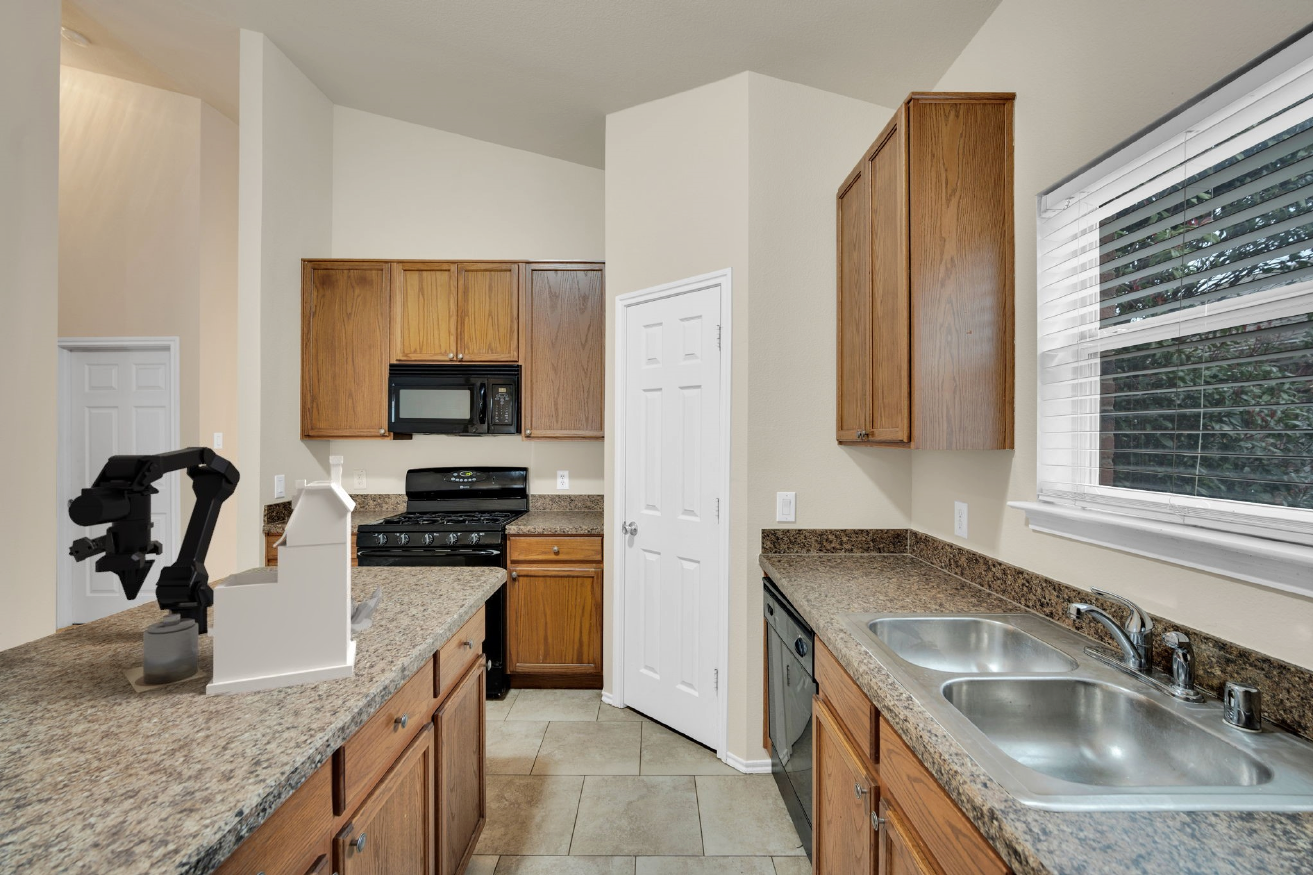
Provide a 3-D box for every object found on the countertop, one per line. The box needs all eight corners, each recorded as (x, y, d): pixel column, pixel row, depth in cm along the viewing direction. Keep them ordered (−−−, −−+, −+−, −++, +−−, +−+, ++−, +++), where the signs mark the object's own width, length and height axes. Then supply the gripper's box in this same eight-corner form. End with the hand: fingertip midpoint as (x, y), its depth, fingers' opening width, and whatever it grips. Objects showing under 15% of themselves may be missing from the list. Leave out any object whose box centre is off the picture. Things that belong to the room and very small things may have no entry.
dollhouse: (356, 649, 121) (356, 454, 121) (352, 676, 107) (352, 456, 107) (228, 666, 112) (229, 455, 112) (206, 698, 98) (206, 457, 98)
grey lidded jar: (192, 664, 111) (192, 607, 111) (203, 674, 106) (203, 614, 106) (139, 676, 105) (139, 616, 105) (147, 688, 100) (148, 624, 100)
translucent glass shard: (387, 626, 136) (387, 561, 136) (322, 638, 128) (322, 569, 128) (377, 616, 144) (377, 554, 144) (315, 626, 136) (315, 561, 136)
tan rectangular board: (187, 659, 115) (187, 656, 115) (206, 678, 106) (206, 674, 106) (122, 674, 108) (122, 670, 108) (137, 696, 99) (137, 692, 99)
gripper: (92, 516, 118) (92, 594, 118) (56, 528, 102) (55, 618, 102) (163, 513, 124) (163, 587, 124) (139, 523, 108) (139, 609, 108)
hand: (131, 599), depth 114 cm, fingers closed
